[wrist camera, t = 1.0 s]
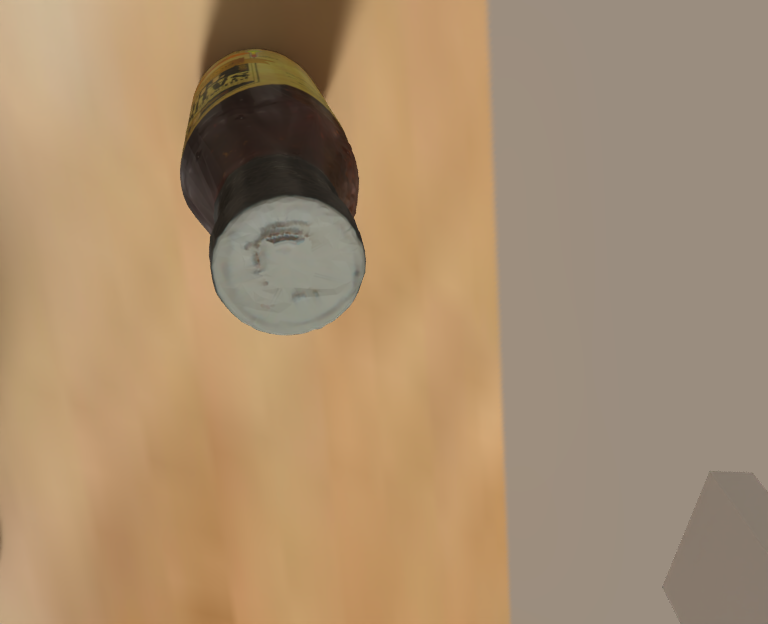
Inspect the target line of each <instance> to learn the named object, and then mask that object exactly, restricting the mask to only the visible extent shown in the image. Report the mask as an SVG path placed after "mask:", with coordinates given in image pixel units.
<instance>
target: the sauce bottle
mask: <svg viewBox="0 0 768 624" xmlns="http://www.w3.org/2000/svg"><path fill="white" fill-rule="evenodd" d="M180 180H181V187H182V191H183V195H184V198H185V200H186V203H187V205H188V207H189V208H190V210H191V211H192V213H193V214H194V215H195V217H196V218H197V219H198V220H199V222H200V223H201V224H202V225H203V226H204V228H205V229H206V230H207V231H208V232H209V234H210V235H211V236H210V245H209V258H210V267H211V274H212V280H213V284H214V287H215V291H216V293H217V295H218V297H219V298H220V299H221V301H222V302H223V303H224V305H225V306H226V307H227V308H228V309H229V310H230V312H231V313H232V314H233V315H235V316H236V317H237V318H238V319H239V320H240V321H241V322H243V323H245V324H247V325H249V326H251V327H253V328H254V329H256V330H259V331H262V332H267V333H269V334H276V335H295V334H303V333H306V332H309V331H311V330H314V329H320V328H322V327H324V326H325V325H326V324H328V323H330V322H332V321H334V320H335V319H336V318H338V317H339V316H340V315H341V314H342V313H343V312H344V311H345V310H346V309H347V308H348V307H349V306H350V305H351V304H352V302H353V301H354V299H355V297H356V295H357V293H358V291H359V288H360V285H361V283H362V280H363V277H364V274H365V265H366V258H365V250H364V246H363V242H362V238H361V235H360V232H359V230H358V228H357V225H356V222H355V220H354V216H355V214H356V206H357V199H358V191H359V189H358V187H359V177H358V169H357V165H356V161H355V157H354V154H353V152H352V148H351V145H350V144H349V143H348V140H347V137H346V135H345V133H344V130H343V128H342V126H341V125H340V123H339V122H338V120H337V118H336V117H335V115H334V114H333V112H332V111H331V109H330V108H329V106H328V105H327V103H326V101H325V99H324V98H323V96H322V95H321V93H320V92H319V90H318V88H317V87H316V85H315V84H314V82H313V81H312V79H311V78H310V77H309V75H308V74H307V73H306V72H305V71H304V70H303V69H302V68H301V67H300V66H299V65H298V64H297V63H295V62H293V61H292V60H290V59H288V58H287V57H285V56H283V55H281V54H279V53H278V52H274V51H269V50H266V49H249V50H242V51H237V52H233V53H231V54H229V55H227V56H225V57H224V58H222V59H220V60H218V61H217V62H216V63H215V64H214V65H212V66H211V67H210V68H209V69H208V70H207V72H206V73H205V74H204V76H203V77H202V79H201V80H200V82H199V84H198V86H197V88H196V91H195V94H194V97H193V102H192V107H191V112H190V117H189V122H188V126H187V131H186V136H185V142H184V148H183V152H182V158H181V167H180Z"/></svg>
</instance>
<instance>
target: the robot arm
mask: <svg viewBox="0 0 768 624" xmlns="http://www.w3.org/2000/svg"><path fill="white" fill-rule="evenodd" d="M662 588H663V590H664V592H665V594H666V596H667V598H668V600H669V602H670V604H671V606H672V608H673V609H674V612H675V614H676V616H677V618H678V619H679V622H680V623H681V624H768V492H767V490H766V489H765V488H764V487H763V485H762V484H761V483H760V481H759V480H758V479H757V478H756V476H755V475H754V474H753V473H745V472H718V471H710V472H709V474H708V476H707V479H706V481H705V484H704V486H703V489H702V491H701V493H700V496H699V498H698V501H697V503H696V506H695V508H694V511H693V513H692V515H691V518H690V520H689V523H688V525H687V528H686V530H685V533H684V535H683V538H682V540H681V542H680V545H679V547H678V550H677V552H676V554H675V557H674V559H673V562H672V564H671V567H670V569H669V572H668V574H667V577H666V579H665V581H664V584H663V586H662Z"/></svg>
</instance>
